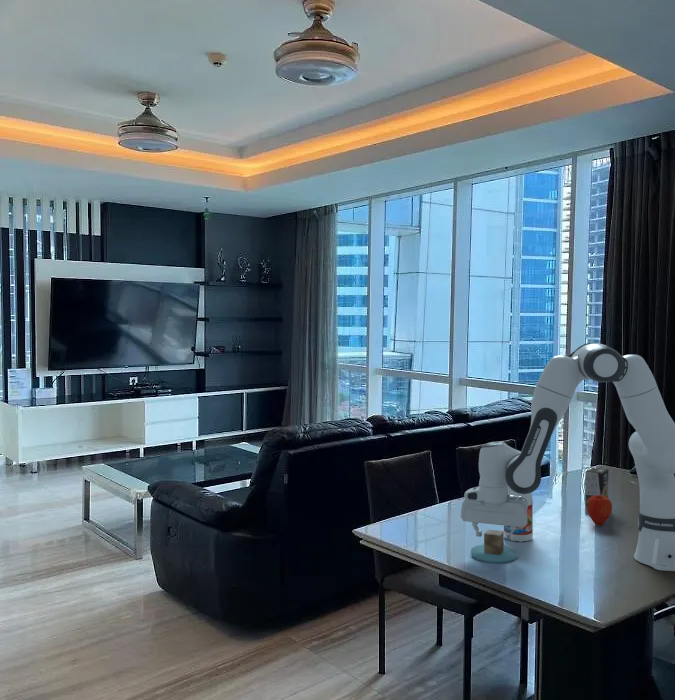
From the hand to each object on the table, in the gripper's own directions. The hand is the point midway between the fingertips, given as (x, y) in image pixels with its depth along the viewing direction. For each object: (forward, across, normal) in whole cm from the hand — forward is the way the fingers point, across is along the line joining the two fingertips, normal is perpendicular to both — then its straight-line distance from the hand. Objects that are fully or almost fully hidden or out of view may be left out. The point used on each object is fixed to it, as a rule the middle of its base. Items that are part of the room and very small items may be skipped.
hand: (493, 537), depth 213 cm
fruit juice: (+6, -4, -20) cm, 21 cm away
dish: (+6, 0, 0) cm, 6 cm away
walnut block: (+4, 0, 0) cm, 4 cm away
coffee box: (+6, -26, -62) cm, 67 cm away
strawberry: (+6, -28, -45) cm, 53 cm away
